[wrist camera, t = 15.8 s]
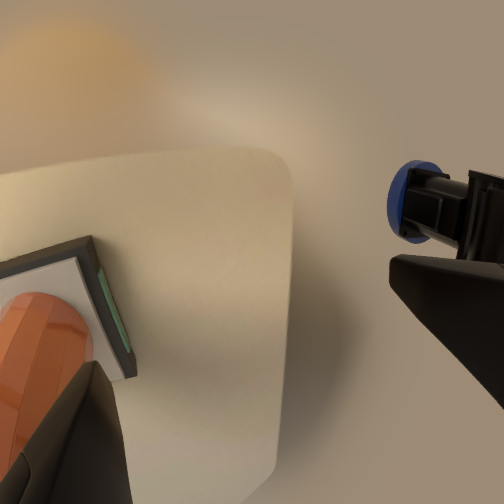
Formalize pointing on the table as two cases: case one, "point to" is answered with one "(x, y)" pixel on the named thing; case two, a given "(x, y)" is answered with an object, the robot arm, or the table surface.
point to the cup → (35, 364)
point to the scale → (75, 297)
